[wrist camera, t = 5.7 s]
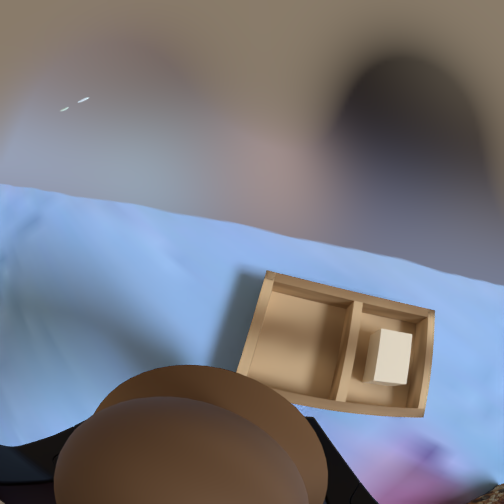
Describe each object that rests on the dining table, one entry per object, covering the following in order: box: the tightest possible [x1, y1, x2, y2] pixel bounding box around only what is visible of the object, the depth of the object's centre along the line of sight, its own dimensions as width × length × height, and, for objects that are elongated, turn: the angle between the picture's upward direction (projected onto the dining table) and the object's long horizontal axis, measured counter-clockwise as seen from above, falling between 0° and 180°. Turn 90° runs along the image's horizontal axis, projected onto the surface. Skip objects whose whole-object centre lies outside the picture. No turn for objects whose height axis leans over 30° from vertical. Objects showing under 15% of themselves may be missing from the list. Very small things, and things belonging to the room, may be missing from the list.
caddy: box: [236, 270, 435, 417], centre depth 20 cm, size 10×16×3 cm, turn 74°
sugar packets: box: [362, 328, 412, 386], centre depth 20 cm, size 4×3×2 cm
